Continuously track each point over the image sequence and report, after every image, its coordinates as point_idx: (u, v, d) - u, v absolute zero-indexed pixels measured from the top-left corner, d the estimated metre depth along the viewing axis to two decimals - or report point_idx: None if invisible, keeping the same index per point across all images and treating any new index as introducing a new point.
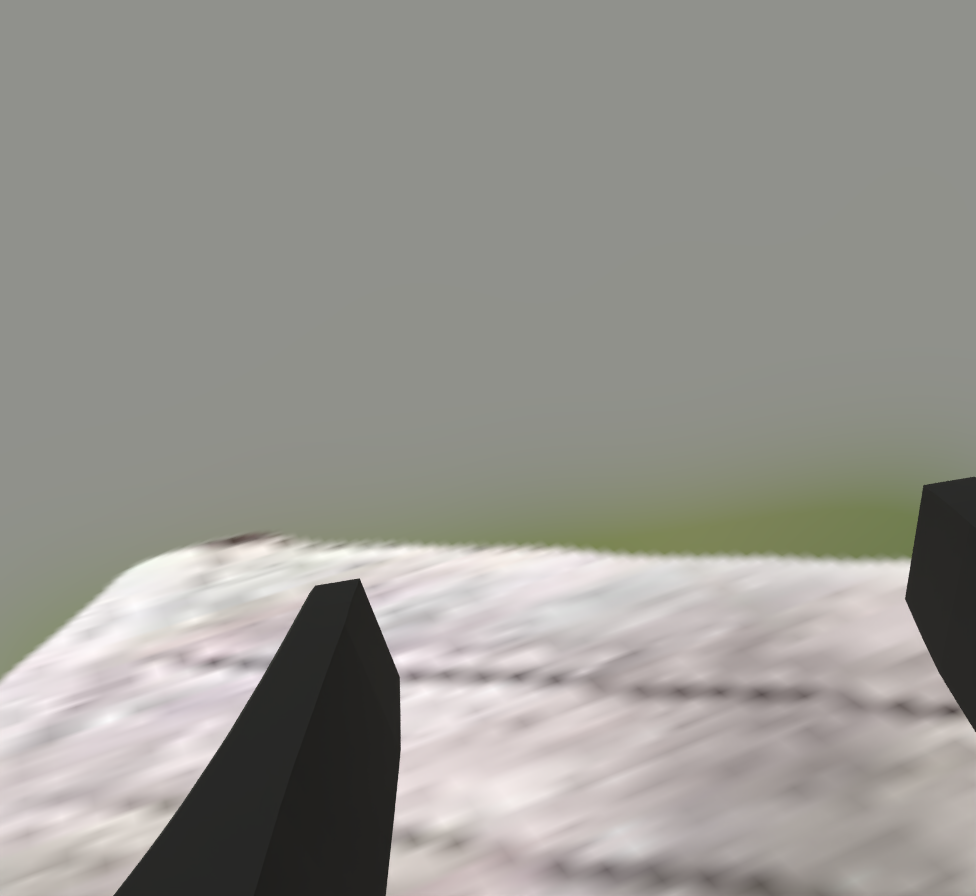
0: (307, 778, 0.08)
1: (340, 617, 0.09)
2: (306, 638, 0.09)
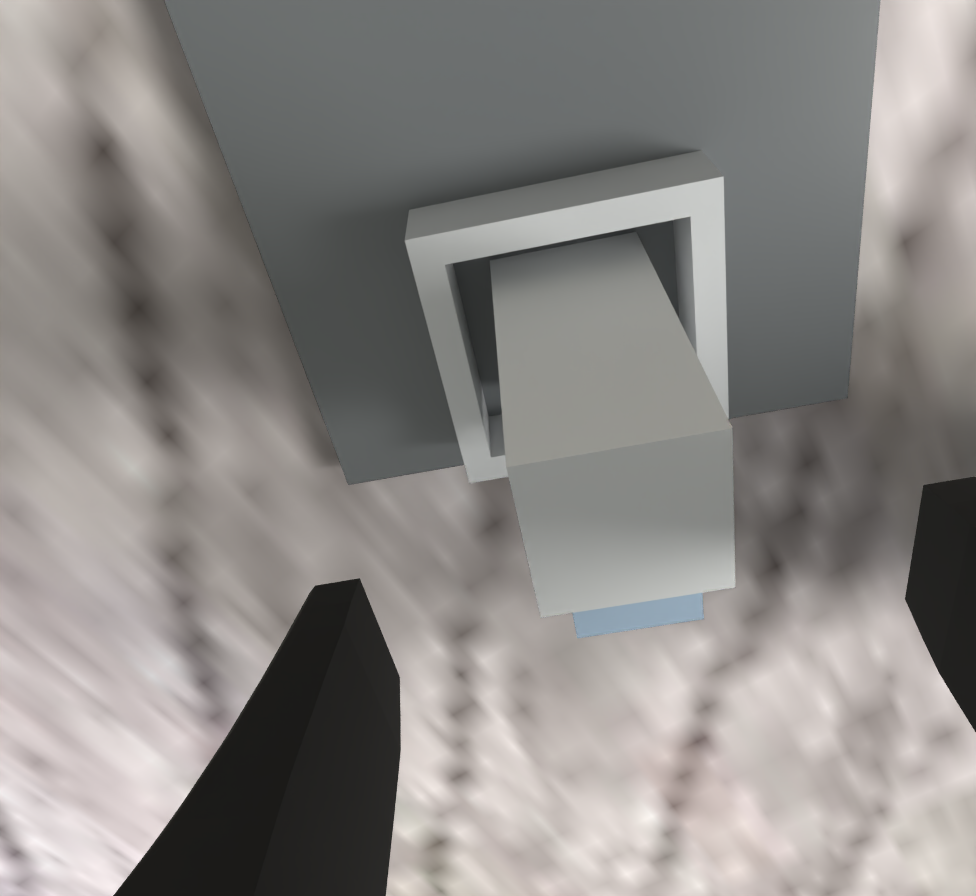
0: (307, 778, 0.08)
1: (340, 617, 0.09)
2: (306, 638, 0.09)
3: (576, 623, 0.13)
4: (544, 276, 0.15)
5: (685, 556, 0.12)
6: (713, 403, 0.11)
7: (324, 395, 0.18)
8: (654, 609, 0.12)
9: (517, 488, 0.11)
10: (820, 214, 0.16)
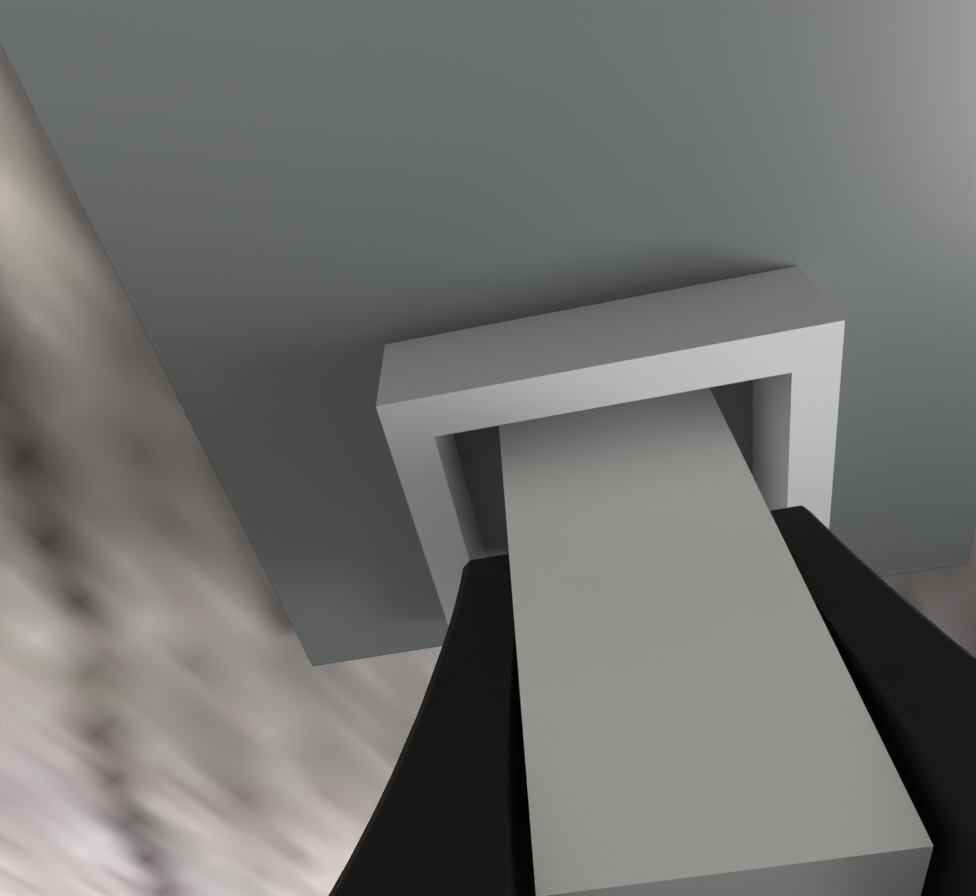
0: (512, 748, 0.08)
1: (509, 590, 0.09)
2: (480, 610, 0.09)
3: None
4: (576, 444, 0.11)
5: None
6: (884, 769, 0.07)
7: (276, 567, 0.14)
8: None
9: None
10: (957, 346, 0.12)
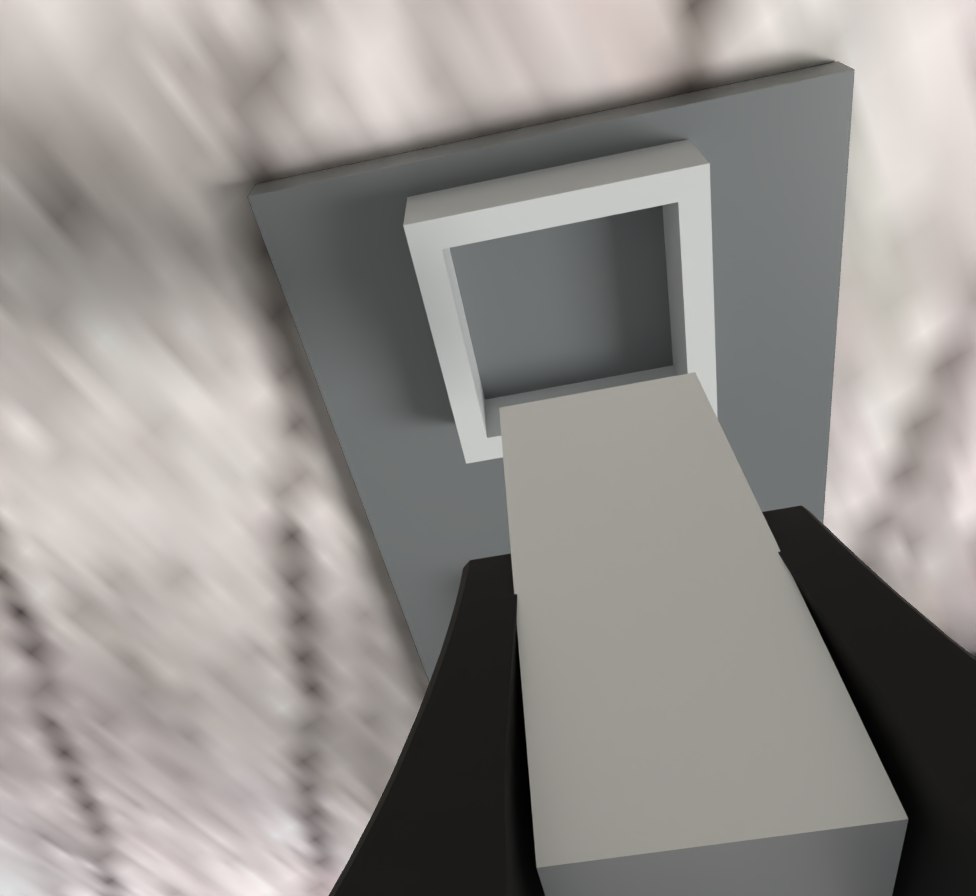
0: (512, 748, 0.08)
1: (509, 590, 0.09)
2: (480, 610, 0.09)
3: None
4: (574, 444, 0.11)
5: None
6: (864, 749, 0.07)
7: None
8: None
9: (553, 890, 0.07)
10: None
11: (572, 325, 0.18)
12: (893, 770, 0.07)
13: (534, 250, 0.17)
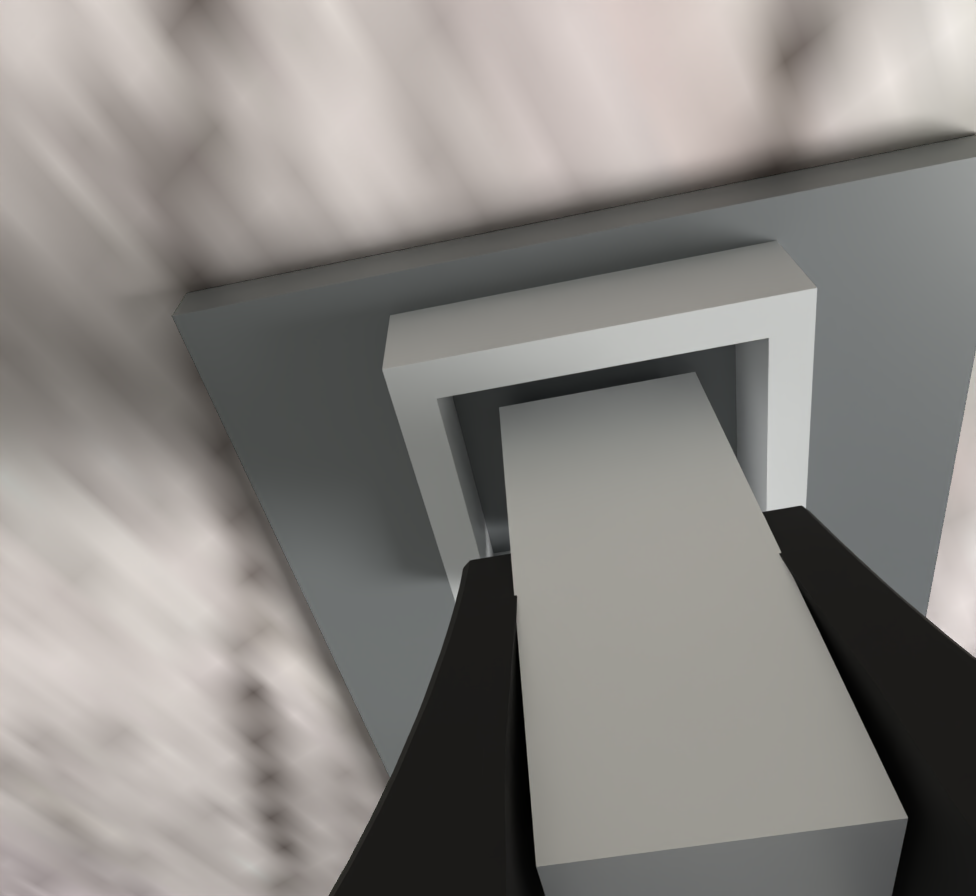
0: (512, 748, 0.08)
1: (509, 590, 0.09)
2: (480, 610, 0.09)
3: None
4: (574, 443, 0.11)
5: None
6: (863, 748, 0.07)
7: None
8: None
9: (553, 889, 0.07)
10: None
11: None
12: (893, 770, 0.07)
13: (561, 379, 0.13)
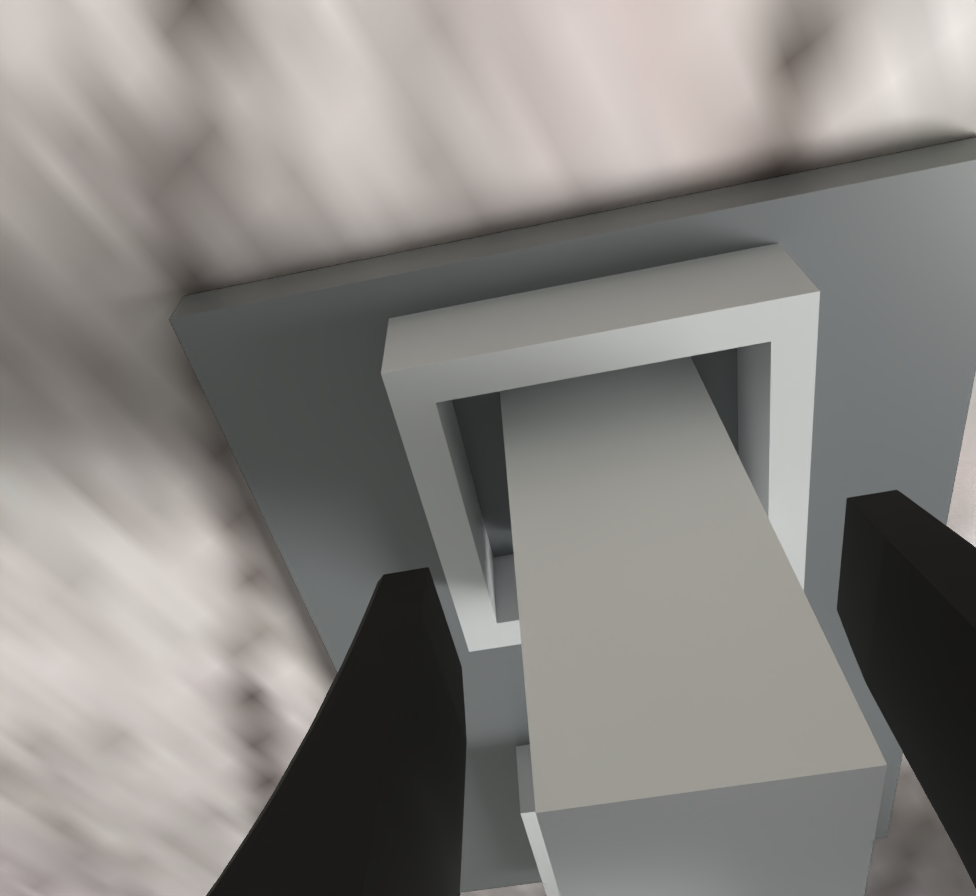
0: (397, 765, 0.08)
1: (414, 605, 0.09)
2: (382, 626, 0.09)
3: None
4: (573, 424, 0.12)
5: (792, 895, 0.08)
6: (846, 702, 0.07)
7: None
8: None
9: (551, 836, 0.07)
10: None
11: None
12: None
13: None
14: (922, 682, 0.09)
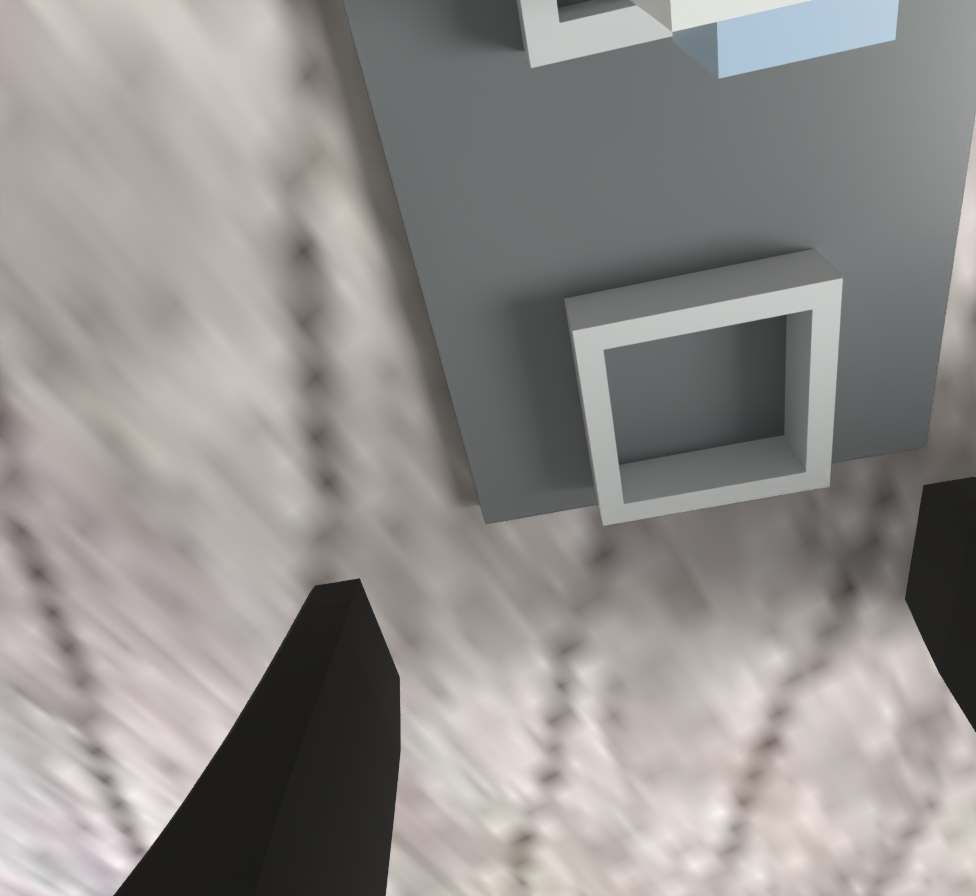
0: (307, 778, 0.08)
1: (340, 617, 0.09)
2: (306, 638, 0.09)
3: (721, 43, 0.09)
4: None
5: None
6: None
7: (473, 449, 0.21)
8: (830, 15, 0.09)
9: None
10: (912, 298, 0.19)
11: None
12: None
13: None
14: None
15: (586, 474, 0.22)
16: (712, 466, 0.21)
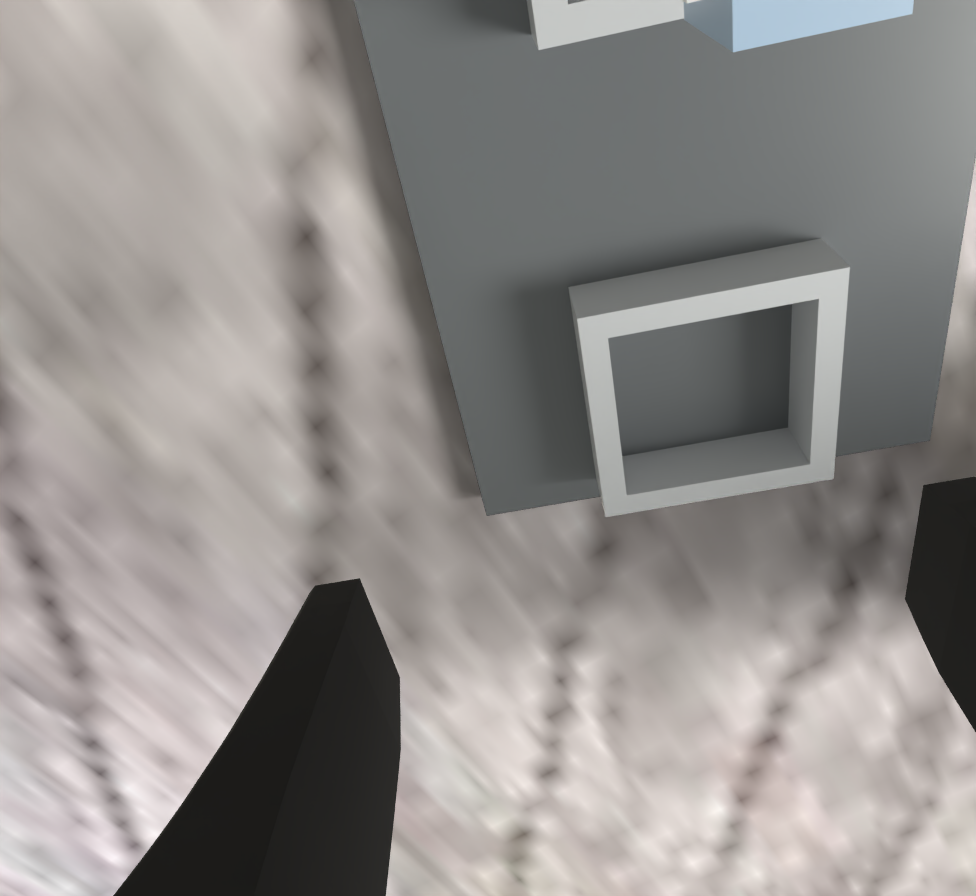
0: (307, 778, 0.08)
1: (340, 617, 0.09)
2: (306, 638, 0.09)
3: (736, 16, 0.09)
4: None
5: None
6: None
7: (475, 440, 0.21)
8: None
9: None
10: (918, 289, 0.19)
11: None
12: None
13: None
14: None
15: (588, 465, 0.21)
16: (715, 458, 0.20)
